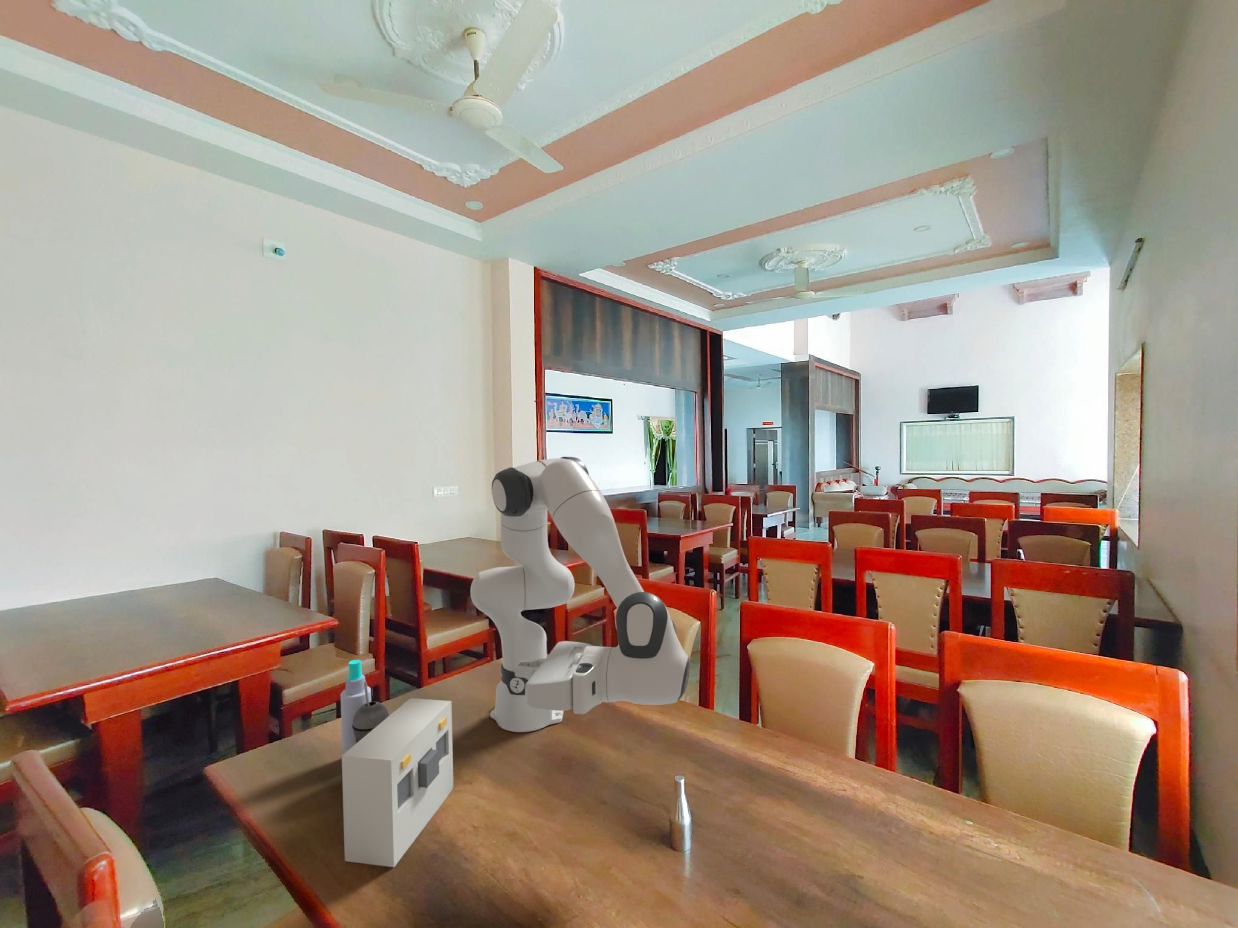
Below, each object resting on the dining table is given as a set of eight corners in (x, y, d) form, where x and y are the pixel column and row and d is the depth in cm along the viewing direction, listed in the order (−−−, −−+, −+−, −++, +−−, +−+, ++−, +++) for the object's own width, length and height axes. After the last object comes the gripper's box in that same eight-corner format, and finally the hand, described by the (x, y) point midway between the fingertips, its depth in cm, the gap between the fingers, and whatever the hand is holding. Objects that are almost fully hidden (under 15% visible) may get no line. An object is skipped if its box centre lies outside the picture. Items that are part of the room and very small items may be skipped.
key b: (428, 751, 110) (427, 729, 110) (445, 752, 109) (445, 731, 109) (416, 764, 105) (416, 741, 105) (434, 765, 105) (434, 743, 105)
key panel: (412, 784, 113) (410, 698, 112) (455, 788, 111) (453, 701, 110) (344, 860, 92) (341, 755, 91) (396, 867, 90) (393, 760, 90)
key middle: (420, 771, 103) (420, 748, 103) (439, 773, 102) (438, 750, 102) (408, 785, 99) (407, 761, 99) (427, 787, 98) (426, 763, 98)
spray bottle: (336, 763, 120) (333, 665, 119) (358, 749, 126) (356, 655, 125) (356, 769, 118) (353, 668, 117) (378, 754, 124) (376, 658, 123)
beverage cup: (377, 788, 111) (374, 691, 111) (345, 784, 113) (342, 688, 112) (398, 767, 119) (396, 676, 118) (368, 763, 120) (366, 673, 119)
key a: (391, 792, 97) (390, 767, 97) (410, 793, 96) (409, 769, 96) (375, 808, 93) (375, 782, 92) (396, 810, 92) (395, 784, 92)
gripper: (605, 634, 104) (536, 631, 107) (580, 679, 84) (495, 674, 87) (606, 667, 105) (536, 663, 107) (580, 720, 84) (495, 713, 87)
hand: (517, 668), depth 97 cm, fingers closed
